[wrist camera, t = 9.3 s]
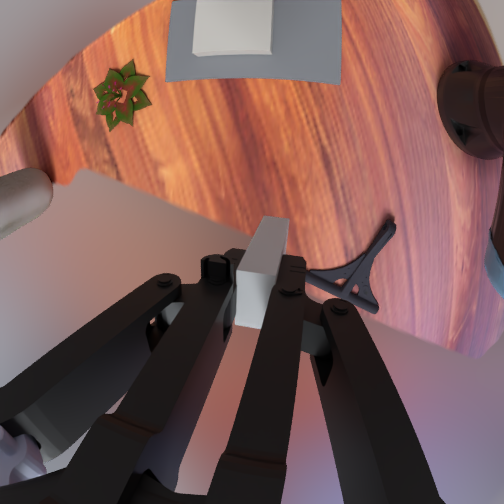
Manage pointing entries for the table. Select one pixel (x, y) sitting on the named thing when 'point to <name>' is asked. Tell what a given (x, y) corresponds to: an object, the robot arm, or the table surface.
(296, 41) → the mat
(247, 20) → the tile
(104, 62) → the table surface
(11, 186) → the grey bottle
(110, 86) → the lily flower
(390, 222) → the bracket
